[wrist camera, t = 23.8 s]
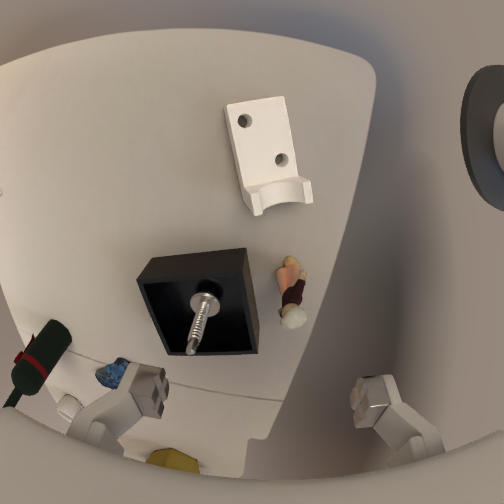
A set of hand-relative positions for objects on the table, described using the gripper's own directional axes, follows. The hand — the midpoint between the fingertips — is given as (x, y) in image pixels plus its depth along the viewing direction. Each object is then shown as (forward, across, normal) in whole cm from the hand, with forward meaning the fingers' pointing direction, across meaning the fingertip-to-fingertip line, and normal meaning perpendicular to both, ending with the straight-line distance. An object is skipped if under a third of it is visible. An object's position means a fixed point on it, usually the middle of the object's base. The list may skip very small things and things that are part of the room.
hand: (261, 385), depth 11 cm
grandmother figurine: (+31, -4, +13) cm, 34 cm away
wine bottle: (+31, +50, +34) cm, 68 cm away
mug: (+31, +62, +72) cm, 99 cm away
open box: (+31, +9, +18) cm, 37 cm away
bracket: (+31, 0, -6) cm, 32 cm away
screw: (+30, +9, +18) cm, 37 cm away
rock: (+31, +32, +47) cm, 65 cm away
